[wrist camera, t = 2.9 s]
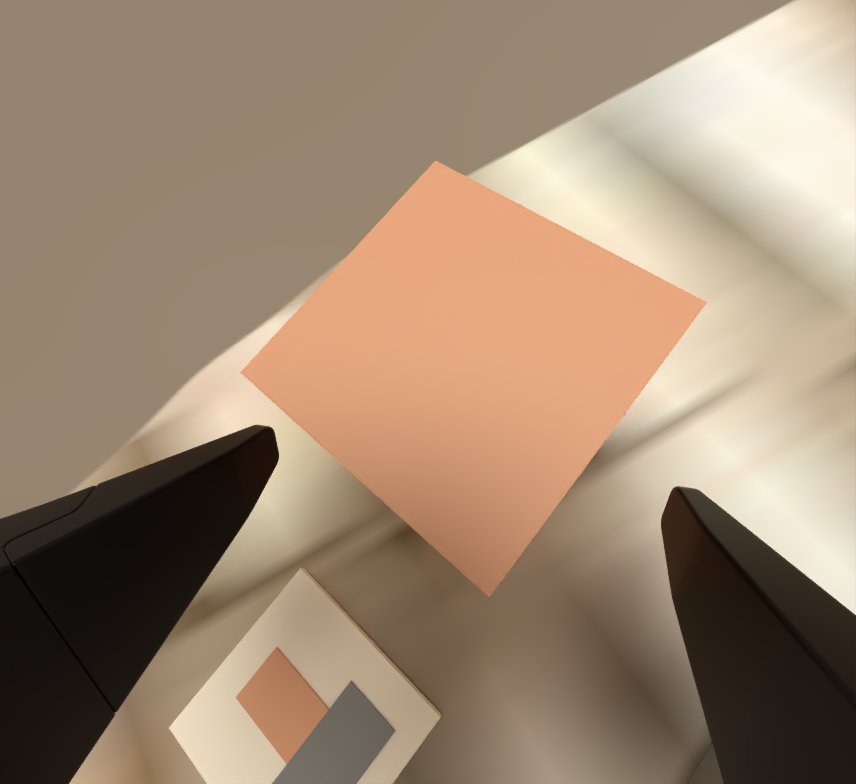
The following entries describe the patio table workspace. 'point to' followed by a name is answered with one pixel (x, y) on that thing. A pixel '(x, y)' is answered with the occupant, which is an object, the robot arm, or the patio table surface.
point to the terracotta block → (471, 364)
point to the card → (305, 702)
